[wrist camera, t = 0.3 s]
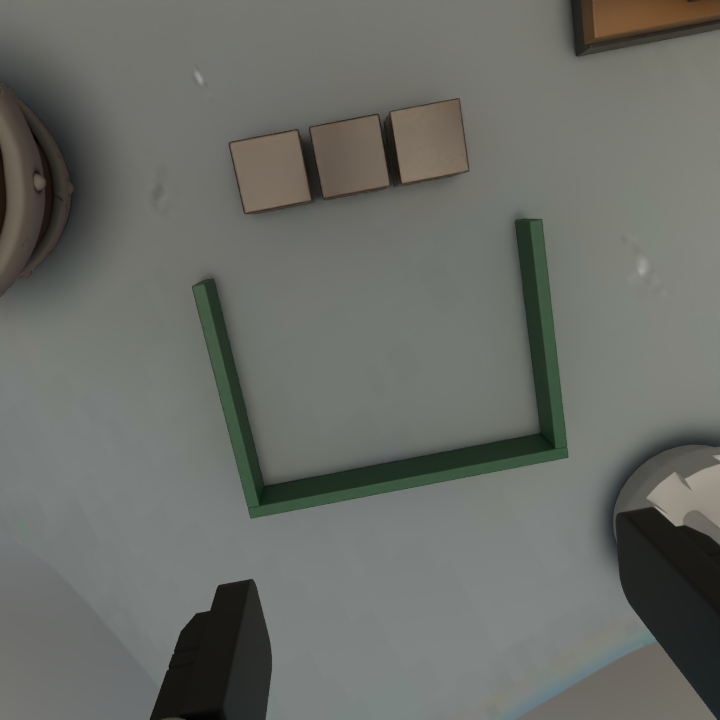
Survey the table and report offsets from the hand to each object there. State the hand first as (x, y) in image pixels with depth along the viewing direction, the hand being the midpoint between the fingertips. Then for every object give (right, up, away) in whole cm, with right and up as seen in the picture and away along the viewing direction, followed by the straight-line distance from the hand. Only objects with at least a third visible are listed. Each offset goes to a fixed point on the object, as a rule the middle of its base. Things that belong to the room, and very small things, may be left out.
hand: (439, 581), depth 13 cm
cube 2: (-2, +17, +25) cm, 31 cm away
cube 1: (-7, +16, +25) cm, 31 cm away
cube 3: (+2, +18, +25) cm, 31 cm away
